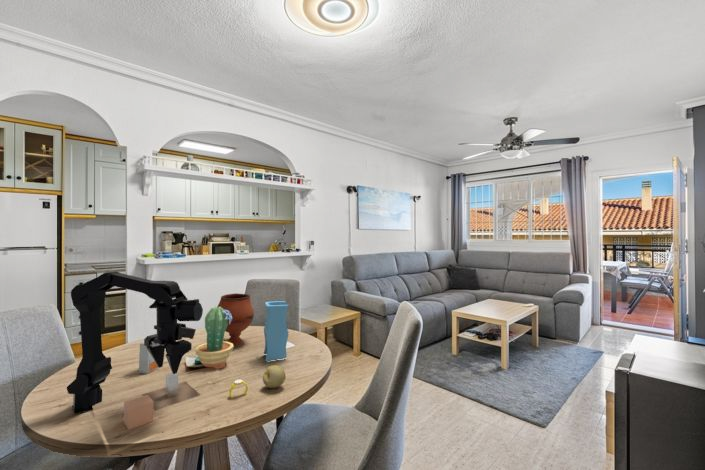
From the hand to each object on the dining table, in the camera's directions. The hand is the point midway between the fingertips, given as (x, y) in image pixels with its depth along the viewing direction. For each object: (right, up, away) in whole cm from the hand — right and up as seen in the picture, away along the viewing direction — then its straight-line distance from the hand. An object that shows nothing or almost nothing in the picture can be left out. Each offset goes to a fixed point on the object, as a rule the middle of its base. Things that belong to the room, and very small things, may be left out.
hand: (167, 370), depth 101 cm
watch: (+20, -13, +8) cm, 25 cm away
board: (-3, -13, +7) cm, 15 cm away
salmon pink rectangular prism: (-4, -12, -8) cm, 15 cm away
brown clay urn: (-2, -13, +62) cm, 64 cm away
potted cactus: (0, -13, +35) cm, 37 cm away
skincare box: (-24, -13, +28) cm, 39 cm away
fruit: (+30, -14, +16) cm, 37 cm away
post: (-3, -12, +7) cm, 14 cm away
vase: (+23, -14, +46) cm, 53 cm away
